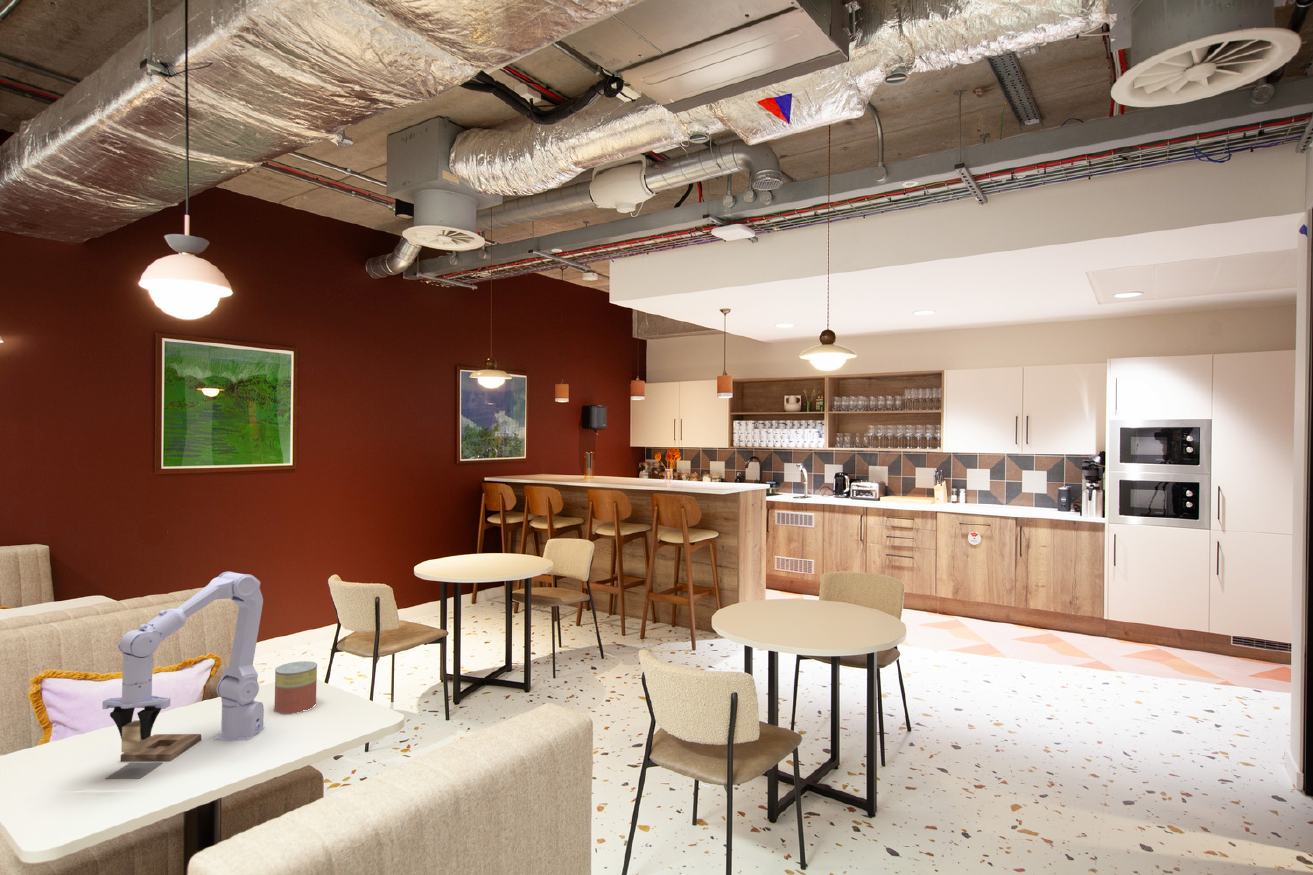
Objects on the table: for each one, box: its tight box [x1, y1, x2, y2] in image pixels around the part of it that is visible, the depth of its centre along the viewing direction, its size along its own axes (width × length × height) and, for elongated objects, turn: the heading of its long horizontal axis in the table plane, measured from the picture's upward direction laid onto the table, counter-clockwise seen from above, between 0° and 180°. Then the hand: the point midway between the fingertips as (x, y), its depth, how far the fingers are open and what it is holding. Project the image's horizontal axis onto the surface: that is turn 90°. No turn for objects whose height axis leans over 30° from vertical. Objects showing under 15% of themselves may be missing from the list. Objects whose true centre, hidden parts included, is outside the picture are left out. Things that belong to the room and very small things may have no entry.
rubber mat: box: [104, 761, 165, 780], centre depth 161 cm, size 8×8×1 cm
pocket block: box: [120, 733, 202, 762], centre depth 172 cm, size 12×12×2 cm
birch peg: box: [120, 719, 152, 753], centre depth 162 cm, size 4×4×6 cm
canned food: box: [273, 660, 318, 715], centre depth 203 cm, size 11×11×12 cm
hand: (135, 737), depth 162 cm, fingers closed on birch peg, 4 cm apart
